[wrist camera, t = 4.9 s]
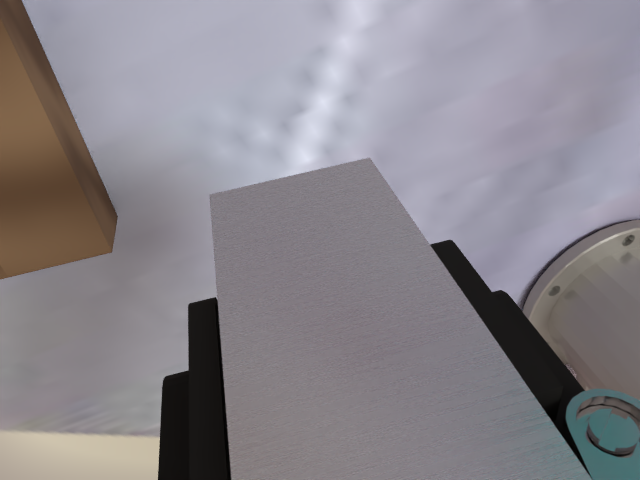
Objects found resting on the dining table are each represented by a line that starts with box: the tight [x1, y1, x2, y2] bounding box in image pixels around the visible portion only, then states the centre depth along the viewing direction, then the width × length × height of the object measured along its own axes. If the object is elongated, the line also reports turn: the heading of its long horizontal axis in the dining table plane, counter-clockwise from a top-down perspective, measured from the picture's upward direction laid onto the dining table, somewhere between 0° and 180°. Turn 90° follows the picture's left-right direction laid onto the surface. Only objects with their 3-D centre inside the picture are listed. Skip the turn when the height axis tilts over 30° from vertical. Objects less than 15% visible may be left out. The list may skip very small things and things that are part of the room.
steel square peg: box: [210, 158, 592, 480], centre depth 9 cm, size 4×4×11 cm
